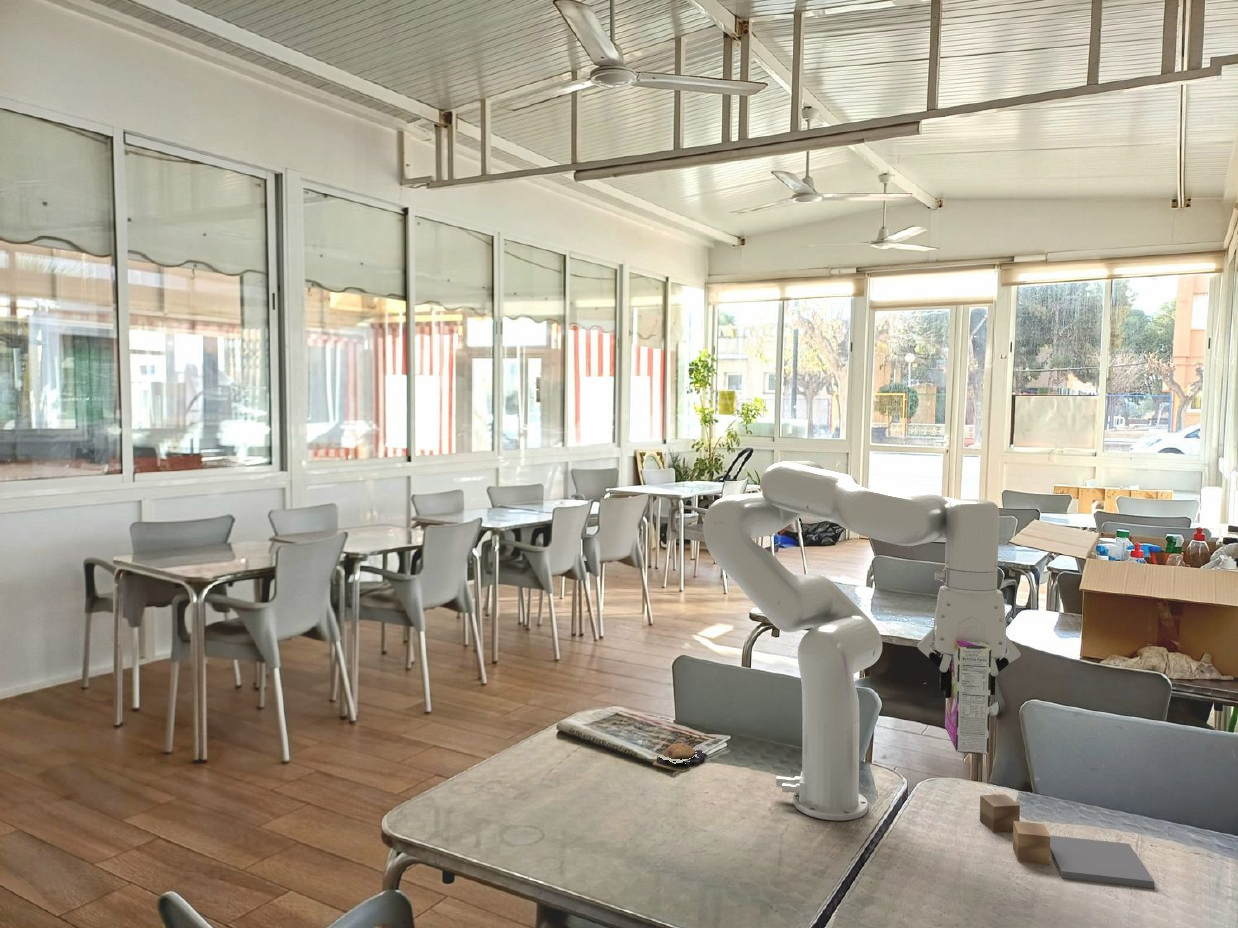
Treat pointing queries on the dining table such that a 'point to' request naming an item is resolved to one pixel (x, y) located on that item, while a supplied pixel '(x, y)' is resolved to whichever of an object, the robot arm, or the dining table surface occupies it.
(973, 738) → the candy bar box
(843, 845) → the dining table surface
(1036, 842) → the light brown wooden cube
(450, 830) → the dining table surface
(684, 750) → the bread roll
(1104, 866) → the charcoal mat
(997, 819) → the dark oak block
